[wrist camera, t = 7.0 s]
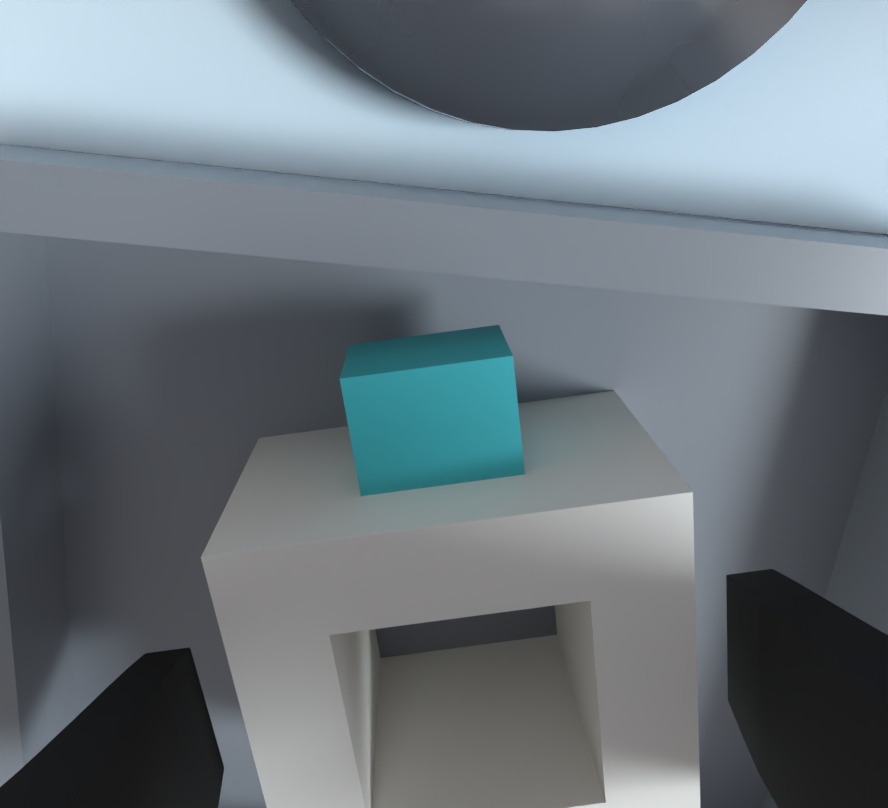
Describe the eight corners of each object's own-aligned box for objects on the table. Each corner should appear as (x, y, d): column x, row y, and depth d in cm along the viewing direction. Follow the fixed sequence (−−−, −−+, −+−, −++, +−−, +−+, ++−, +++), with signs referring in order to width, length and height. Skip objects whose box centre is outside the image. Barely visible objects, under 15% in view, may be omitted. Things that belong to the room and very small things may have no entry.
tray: (956, 241, 12) (1083, 268, 10) (769, 843, 16) (829, 963, 14) (-1, 144, 11) (-108, 148, 9) (51, 812, 15) (-13, 935, 13)
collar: (608, 292, 11) (689, 360, 8) (631, 683, 14) (702, 860, 10) (237, 342, 11) (166, 430, 8) (322, 724, 14) (294, 913, 10)
